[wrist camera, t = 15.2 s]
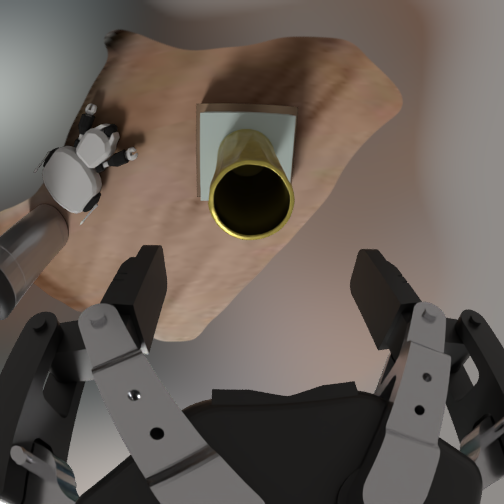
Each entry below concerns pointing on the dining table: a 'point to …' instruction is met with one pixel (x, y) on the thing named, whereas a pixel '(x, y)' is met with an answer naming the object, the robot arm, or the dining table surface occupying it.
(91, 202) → the robot toy
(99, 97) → the dining table surface
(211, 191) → the vase
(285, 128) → the top brick
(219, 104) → the bottom brick
